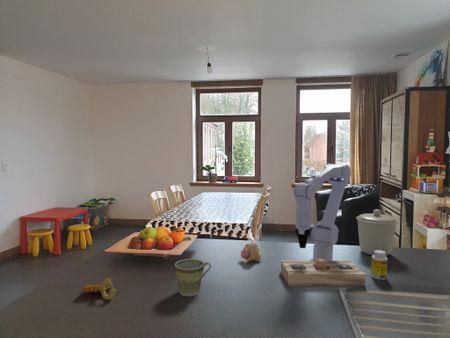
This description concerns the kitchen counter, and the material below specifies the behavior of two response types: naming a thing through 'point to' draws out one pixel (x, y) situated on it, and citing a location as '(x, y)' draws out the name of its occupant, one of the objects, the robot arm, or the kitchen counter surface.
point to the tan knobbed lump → (251, 252)
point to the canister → (376, 232)
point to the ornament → (101, 289)
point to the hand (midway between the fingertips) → (302, 247)
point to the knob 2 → (344, 266)
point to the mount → (322, 274)
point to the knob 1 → (297, 266)
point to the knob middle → (321, 264)
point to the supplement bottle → (379, 265)
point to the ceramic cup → (190, 276)
